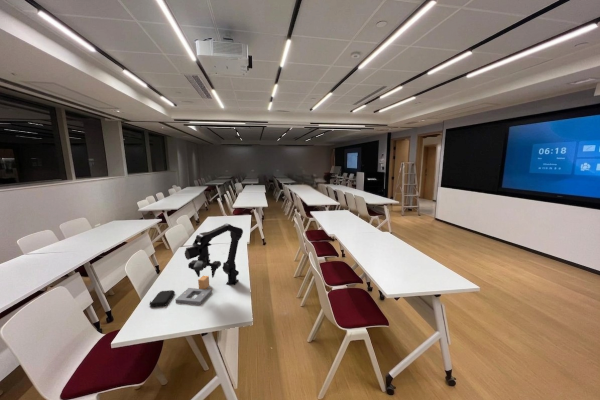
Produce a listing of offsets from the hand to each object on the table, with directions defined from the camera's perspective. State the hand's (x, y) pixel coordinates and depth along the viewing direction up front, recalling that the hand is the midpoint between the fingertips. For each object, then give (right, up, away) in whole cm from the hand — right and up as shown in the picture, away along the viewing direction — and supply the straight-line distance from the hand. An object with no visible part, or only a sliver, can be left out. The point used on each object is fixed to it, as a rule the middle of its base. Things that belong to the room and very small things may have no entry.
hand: (205, 277), depth 148 cm
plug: (-5, -11, +10) cm, 16 cm away
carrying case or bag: (-26, -14, -3) cm, 29 cm away
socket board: (-7, -12, -1) cm, 14 cm away
